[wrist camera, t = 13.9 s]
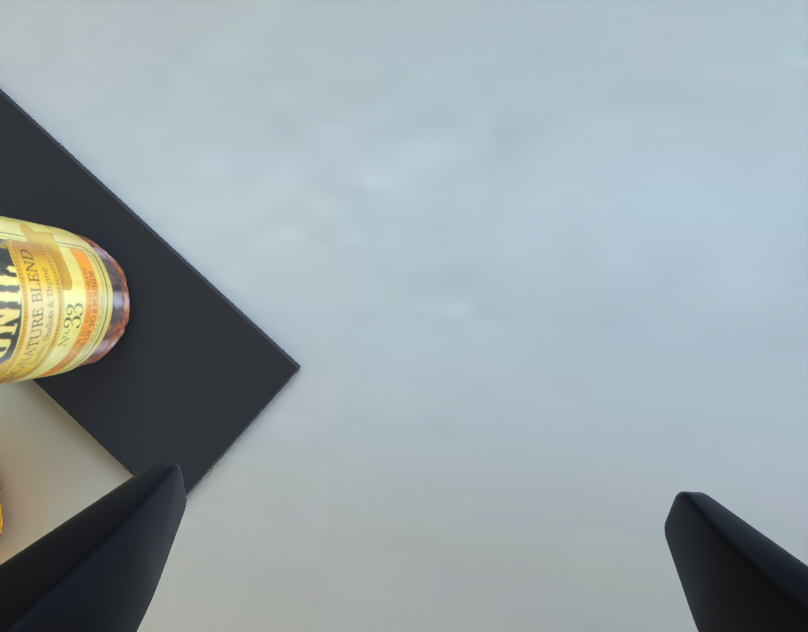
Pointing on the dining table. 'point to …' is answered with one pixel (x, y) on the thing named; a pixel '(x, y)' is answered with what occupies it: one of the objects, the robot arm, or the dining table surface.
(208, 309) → the mat
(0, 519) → the decorated donut
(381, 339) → the dining table surface
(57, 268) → the sauce bottle
